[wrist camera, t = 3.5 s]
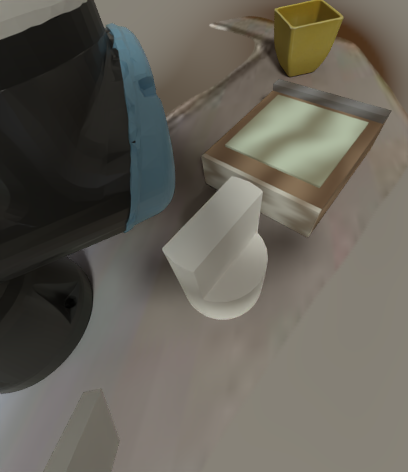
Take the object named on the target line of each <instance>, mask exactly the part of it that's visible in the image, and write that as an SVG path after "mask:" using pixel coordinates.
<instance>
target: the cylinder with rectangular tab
mask: <svg viewBox="0 0 408 472" xmlns="http://www.w3.org/2000/svg"><path fill="white" fill-rule="evenodd" d="M262 195H263V191H262V190H261V189H260V188H258V187H257V186H255V185H254V184H252V183H250V182H249V181H246V180H243V179H241V178H238V177H233V176H231V177H230V178H229V180H228V181H227V182H226V183H225V184H224V185H223V186H222V187H221V188H220V189H219V190H218V191H217V192H216V193H215V194H214V195H213V196H212V197H211V198H210V199H209V200H208V201H207V202H206V203H205V204H204V205H203V206H202V208H201V209H200V210H199V211H198V212H197V213H196V214H195V215H194V216H193V217H192V218H191V219H190V220H189V221H188V222H187V223H186V224H185V225H184V226H183V227H182V228H181V229H180V230H179V231H178V232H177V233H176V234H175V236H174V237H173V238H172V239H171V240H170V241H169V242H168V243H167V244H166V245H165V246H164V247H163V248H162V250H163V252H164V254H165V256H166V258H167V260H168V262H169V264H170V265H171V267H172V269H173V271H174V273H175V275H176V277H177V279H178V281H179V283H180V285H181V287H182V289H183V291H184V293H185V294H186V296H187V298H188V300H189V302H190V304H191V305H192V306H193V307H194V308H195V309H196V310H197V311H198V312H200V313H202V314H203V315H205V316H207V317H210V318H214V319H231V318H235V317H239V316H241V315H242V314H244V313H246V312H247V311H249V310H250V309H251V308H252V307H253V305H254V304H255V303H256V302H257V300H258V298H259V296H260V294H261V290H262V286H263V281H264V277H265V273H266V268H267V263H268V256H267V248H266V246H265V244H264V241H263V239H262V238H261V236H260V235H259V234H258V225H259V218H260V210H261V202H262Z"/></svg>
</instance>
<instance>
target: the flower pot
mask: <svg viewBox="0 0 408 472" xmlns="http://www.w3.org/2000/svg"><path fill="white" fill-rule="evenodd" d="M274 17H275V18H274V43H275V50H276V54H277V57H278V60H279V63H280V65H281V67H282V68H283V69H284V71H285V72H286V74H287V75H288V76H289V77H292V76H296V75H301V74H306V73H310V72H314V71H315V70H316V69H317V68H318V67H319V66H320V65H321V63H322V62H323V61H324V59H325V58H326V56H327V55H328V53H329V51H330V49H331V47H332V45H333V43H334V40H335V38H336V35H337V33H338V30H339V28H340V25H341V23H342V20H343V16H342V15H341V14H340V13H339V12H338V11H337V10H335V9H334V8H333V7H331V6H330V5H329V4H328V3H326V2H325V1H324V0H312V1H307V2H303V3H298V4H294V5H288V6H284V7H279V8H276V9H275V16H274Z"/></svg>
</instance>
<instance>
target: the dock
mask: <svg viewBox="0 0 408 472" xmlns="http://www.w3.org/2000/svg"><path fill="white" fill-rule="evenodd" d="M390 113H391V110H388V109H384V108H381V107H377V106H374V105H370V104H366V103H363V102H359V101H356V100H352V99H349V98H345V97H341V96H338V95H334V94H331V93H327V92H324V91H320V90H316V89H313V88H309V87H306V86H302V85H299V84H295V83H291V82H288V81H284V80H281V79H278V80H277V81H276V82H275V83H274V85H273V91H272V92H271V93H270V94H269V95H267V96H266V97H265V98H264V99H263V100H262V101H261V102H260V103H259V104H258V105H257V106H255V107H254V108H253V109H252V110H251V111H250V112H249V113H248V114H247V115H246V116H245V117H244V118H242V119H241V120H240V121H239V122H238V123H237V124H236V125H235V126H234V127H233V128H232V129H230V130H229V131H228V132H227V133H226V134H225V135H224V136H223V137H222V138H221V139H220V140H218V141H217V142H216V143H215V144H214V145H213V146H212V147H211V148H210V149H209V150H208V151H207V152H205V153H204V154H203V155H202V162H203V169H204V176H205V183H206V184H208V185H210V186H212V187H214V188H216V189H218V190H219V189H220V188H221V187H222V186H223V185H224V184H225V183H226V182H227V181H228V180H229V178H230V177H231V176H233V177H238V178H241V179H243V180H246V181H249V182H250V183H252V184H254V185H255V186H257V187H258V188H260V189H261V190H262V191H263V195H262V202H261V210H260V213H262V214H264V215H266V216H268V217H270V218H272V219H273V220H275V221H277V222H279V223H281V224H283V225H285V226H286V227H288V228H290V229H292V230H294V231H296V232H298V233H299V234H301V235H303V236H305V237H307V238H308V237H309V235H310V234H311V233H312V231H313V230H314V228H315V227H316V226H317V224H318V223H319V221H320V220H321V218H322V217H323V216H324V214H325V213H326V211H327V210H328V209H329V207H330V206H331V204H332V203H333V201H334V200H335V199H336V197H337V196H338V194H339V193H340V192H341V190H342V189H343V187H344V186H345V184H346V183H347V182H348V180H349V179H350V177H351V176H352V175H353V173H354V172H355V170H356V169H357V168H358V166H359V165H360V163H361V162H362V160H363V159H364V158H365V156H366V155H367V153H368V152H369V151H370V149H371V147H372V145H373V144H374V142H375V140H376V138H377V136H378V135H379V133H380V131H381V129H382V127H383V125H384V124H385V122H386V120H387V118H388V116H389V114H390Z"/></svg>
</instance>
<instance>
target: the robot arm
mask: <svg viewBox="0 0 408 472" xmlns="http://www.w3.org/2000/svg"><path fill="white" fill-rule="evenodd" d="M174 189H175V165H174V157H173V151H172V145H171V140H170V135H169V130H168V125H167V121H166V117H165V113H164V109H163V106H162V102H161V100H160V98H158V96H157V95H156V88H155V84H154V79H153V75H152V71H151V68H150V65H149V62H148V60H147V57H146V55H145V53H144V51H143V49H142V47H141V45H140V43H139V41H138V39H137V38H136V36H135V35H134V34H133V33H132V32H131V31H130V30H128V29H127V28H125V27H122V26H117V25H115V24H112V23H111V24H108V25H106V28H104V27H103V24H102V21H101V18H100V16H99V13H98V10H97V8H96V5H95V3H94V0H0V394H4V393H11V392H16V391H19V390H22V389H25V388H27V387H30V386H32V385H34V384H36V383H38V382H39V381H41V380H42V379H44V378H45V377H47V376H48V375H50V374H51V373H52V372H53V371H55V370H56V369H57V368H58V367H59V366H60V365H61V364H62V363H63V362H64V361H65V360H66V359H67V358H68V356H69V355H70V354H71V353H72V351H73V350H74V349H75V347H76V346H77V344H78V342H79V341H80V339H81V337H82V335H83V333H84V331H85V329H86V326H87V324H88V321H89V317H90V313H91V308H92V290H91V285H90V282H89V279H88V277H87V276H86V274H85V272H84V271H83V270H82V269H81V268H80V267H79V266H78V265H77V264H75V263H74V262H73V261H72V260H70V259H69V258H68V257H66V256H67V255H70V254H72V253H74V252H77V251H79V250H81V249H84V248H86V247H88V246H91V245H93V244H96V243H98V242H100V241H103V240H105V239H107V238H110V237H112V236H114V235H117V234H119V233H122V232H124V233H126V232H128V231H129V230H131V229H132V228H133V227H134V225H136V224H138V223H140V222H142V221H144V220H146V219H148V218H150V217H152V216H154V215H156V214H158V213H160V212H162V211H163V210H164V209H165V208H166V207H167V205H168V204H169V203H170V202H171V200H172V198H173V194H174ZM119 442H120V439H119V436H118V433H117V430H116V428H115V425H114V422H113V419H112V416H111V413H110V411H109V408H108V405H107V402H106V399H105V397H104V394H103V391H102V389H97V390H92V391H88V392H83V394H82V396H81V398H80V400H79V402H78V404H77V406H76V408H75V410H74V412H73V414H72V416H71V418H70V420H69V422H68V424H67V426H66V428H65V430H64V432H63V434H62V436H61V438H60V440H59V442H58V444H57V446H56V448H55V450H54V451H53V453H52V455H51V457H50V459H49V461H48V463H47V465H46V467H45V469H44V471H43V472H111V471H112V468H113V464H114V460H115V457H116V453H117V449H118V446H119Z"/></svg>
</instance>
